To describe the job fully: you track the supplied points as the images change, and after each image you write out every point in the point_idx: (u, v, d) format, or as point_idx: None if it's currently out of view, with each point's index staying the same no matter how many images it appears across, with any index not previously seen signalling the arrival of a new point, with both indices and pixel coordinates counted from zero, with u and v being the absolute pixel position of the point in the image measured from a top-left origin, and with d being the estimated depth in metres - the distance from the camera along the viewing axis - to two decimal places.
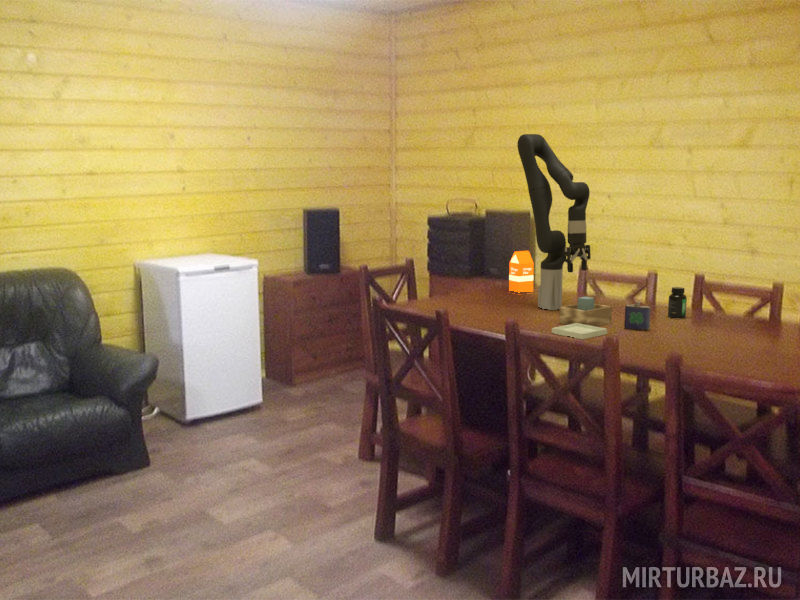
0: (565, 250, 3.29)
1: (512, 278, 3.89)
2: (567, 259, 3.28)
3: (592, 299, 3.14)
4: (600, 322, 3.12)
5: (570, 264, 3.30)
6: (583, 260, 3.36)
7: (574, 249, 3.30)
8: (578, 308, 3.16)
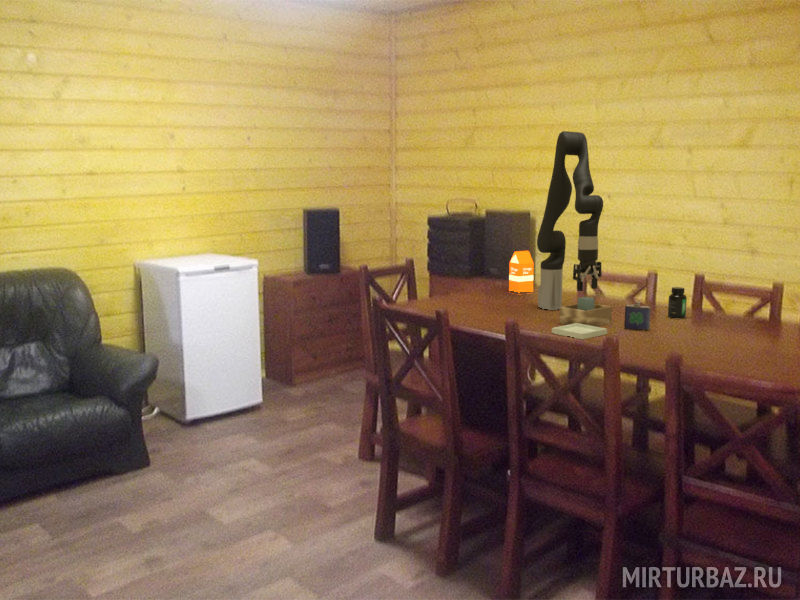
0: (575, 267, 3.09)
1: (512, 278, 3.89)
2: (577, 277, 3.08)
3: (592, 299, 3.14)
4: (600, 322, 3.12)
5: (580, 282, 3.10)
6: (593, 278, 3.16)
7: (584, 266, 3.10)
8: (578, 308, 3.16)
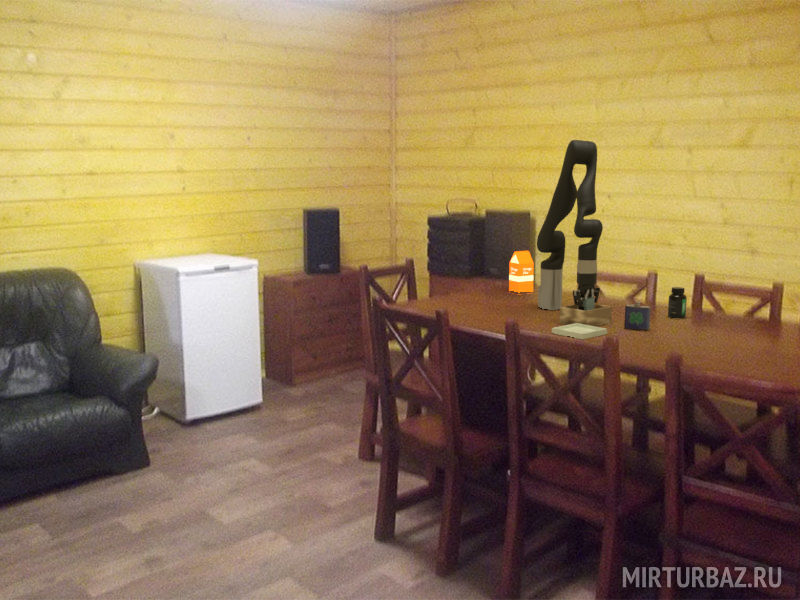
0: (574, 294, 3.11)
1: (512, 278, 3.89)
2: (578, 303, 3.11)
3: (592, 299, 3.14)
4: (600, 322, 3.12)
5: (581, 307, 3.13)
6: None
7: (583, 291, 3.12)
8: None
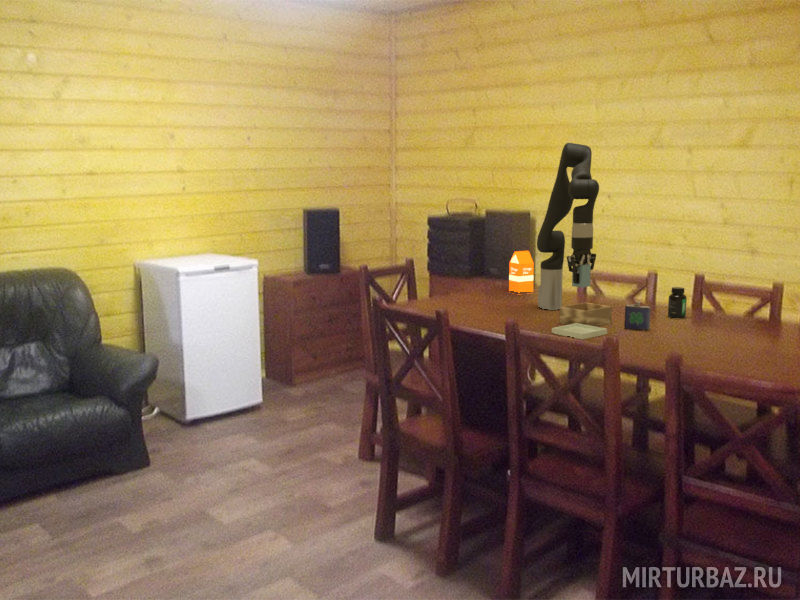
0: (569, 260, 2.89)
1: (512, 278, 3.89)
2: (573, 269, 2.90)
3: (588, 265, 2.92)
4: (600, 322, 3.12)
5: (576, 274, 2.92)
6: None
7: (578, 257, 2.90)
8: None
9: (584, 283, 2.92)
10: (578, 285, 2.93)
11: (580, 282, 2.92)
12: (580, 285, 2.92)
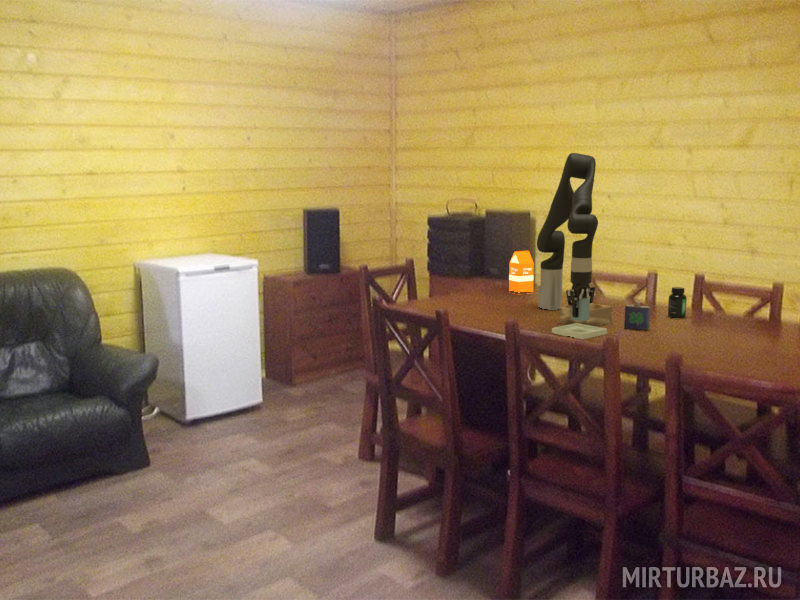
0: (568, 294, 2.92)
1: (512, 278, 3.89)
2: (572, 303, 2.92)
3: (587, 299, 2.94)
4: (600, 322, 3.12)
5: (575, 308, 2.94)
6: None
7: (577, 291, 2.92)
8: None
9: (583, 317, 2.94)
10: (577, 319, 2.95)
11: (579, 316, 2.94)
12: (579, 319, 2.94)
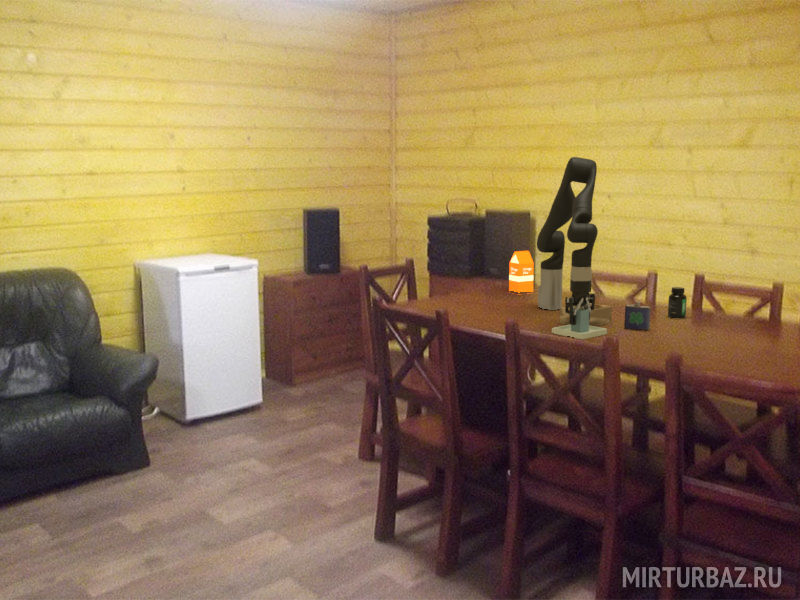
0: (567, 301, 2.92)
1: (512, 278, 3.89)
2: (569, 311, 2.91)
3: (587, 311, 2.95)
4: (600, 322, 3.12)
5: (573, 316, 2.93)
6: None
7: (577, 299, 2.93)
8: None
9: (583, 328, 2.95)
10: (577, 330, 2.96)
11: (579, 327, 2.95)
12: (579, 330, 2.95)
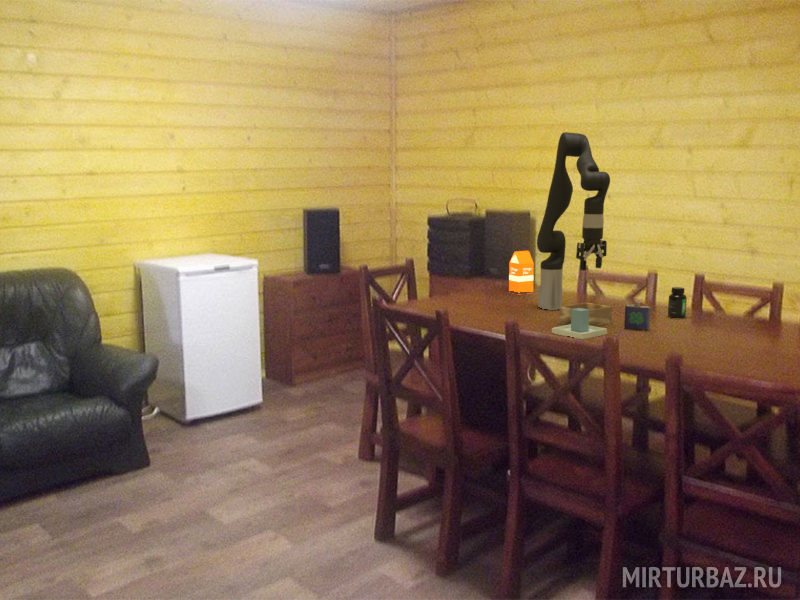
0: (579, 246, 3.00)
1: (512, 278, 3.89)
2: (580, 256, 2.99)
3: (587, 311, 2.95)
4: (600, 322, 3.12)
5: (583, 261, 3.01)
6: (598, 257, 3.07)
7: (589, 245, 3.01)
8: (572, 320, 2.97)
9: (583, 328, 2.95)
10: (577, 330, 2.96)
11: (579, 327, 2.95)
12: (579, 330, 2.95)
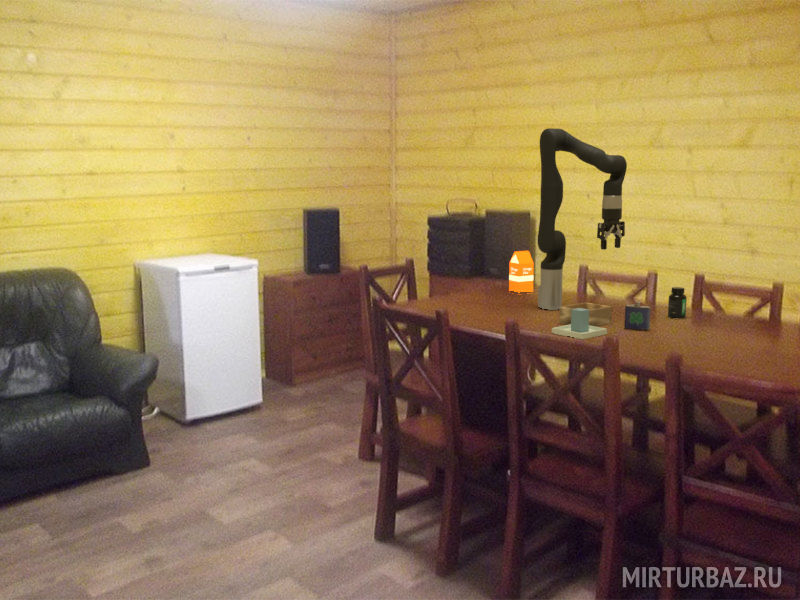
0: (599, 226, 3.15)
1: (512, 278, 3.89)
2: (601, 235, 3.14)
3: (587, 311, 2.95)
4: (600, 322, 3.12)
5: (604, 241, 3.16)
6: (617, 237, 3.22)
7: (608, 225, 3.16)
8: (572, 320, 2.97)
9: (583, 328, 2.95)
10: (577, 330, 2.96)
11: (579, 327, 2.95)
12: (579, 330, 2.95)
